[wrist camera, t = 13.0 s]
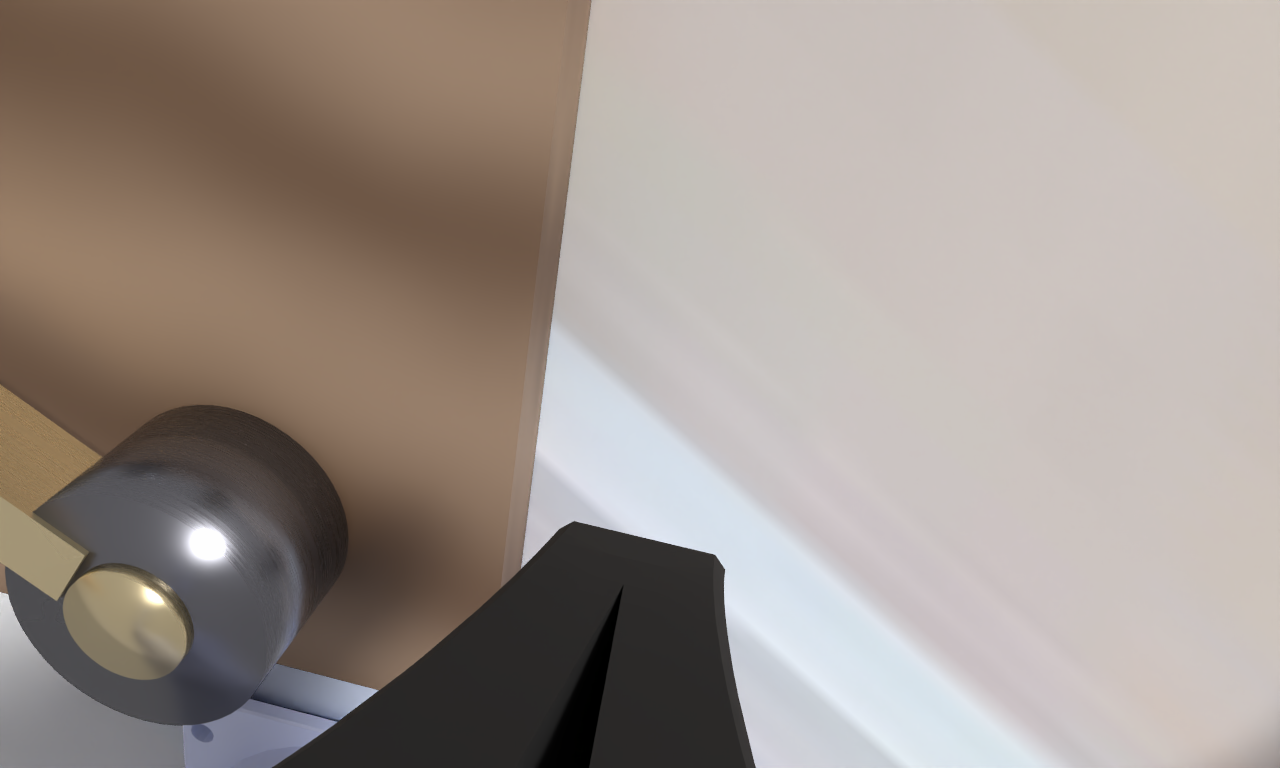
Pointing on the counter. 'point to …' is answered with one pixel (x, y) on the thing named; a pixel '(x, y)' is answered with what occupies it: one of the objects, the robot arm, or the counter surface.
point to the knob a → (165, 555)
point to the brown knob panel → (304, 261)
